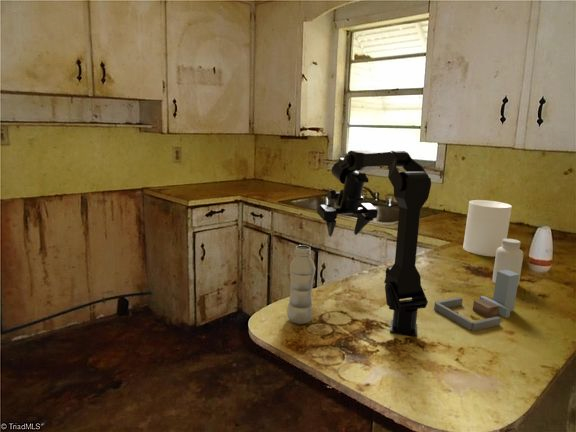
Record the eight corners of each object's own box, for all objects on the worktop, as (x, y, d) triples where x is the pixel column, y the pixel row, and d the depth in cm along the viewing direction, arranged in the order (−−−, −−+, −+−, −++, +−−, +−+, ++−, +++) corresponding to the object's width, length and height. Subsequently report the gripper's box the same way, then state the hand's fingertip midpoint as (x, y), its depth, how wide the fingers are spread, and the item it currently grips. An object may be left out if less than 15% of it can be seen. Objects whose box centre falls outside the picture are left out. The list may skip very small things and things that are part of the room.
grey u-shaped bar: (471, 331, 108) (472, 324, 108) (432, 308, 120) (433, 302, 120) (499, 324, 112) (500, 318, 112) (459, 303, 124) (460, 297, 124)
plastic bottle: (297, 313, 114) (300, 241, 110) (317, 321, 110) (321, 247, 106) (281, 321, 109) (284, 247, 105) (302, 330, 105) (306, 253, 101)
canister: (492, 245, 187) (499, 200, 182) (512, 257, 171) (520, 208, 167) (456, 244, 186) (462, 199, 182) (473, 255, 170) (480, 207, 166)
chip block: (486, 318, 116) (488, 307, 116) (472, 310, 121) (473, 300, 120) (497, 316, 118) (498, 306, 117) (482, 308, 122) (484, 298, 122)
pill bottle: (496, 277, 147) (503, 235, 144) (521, 284, 142) (529, 241, 138) (487, 283, 142) (494, 239, 138) (513, 290, 136) (521, 245, 133)
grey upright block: (505, 317, 116) (511, 280, 114) (479, 304, 124) (484, 269, 122) (521, 314, 119) (527, 277, 116) (494, 301, 127) (499, 266, 124)
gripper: (366, 179, 138) (356, 221, 145) (314, 180, 131) (306, 224, 138) (384, 194, 129) (372, 238, 136) (329, 196, 122) (320, 242, 129)
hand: (342, 235), depth 135 cm, fingers open, 9 cm apart
